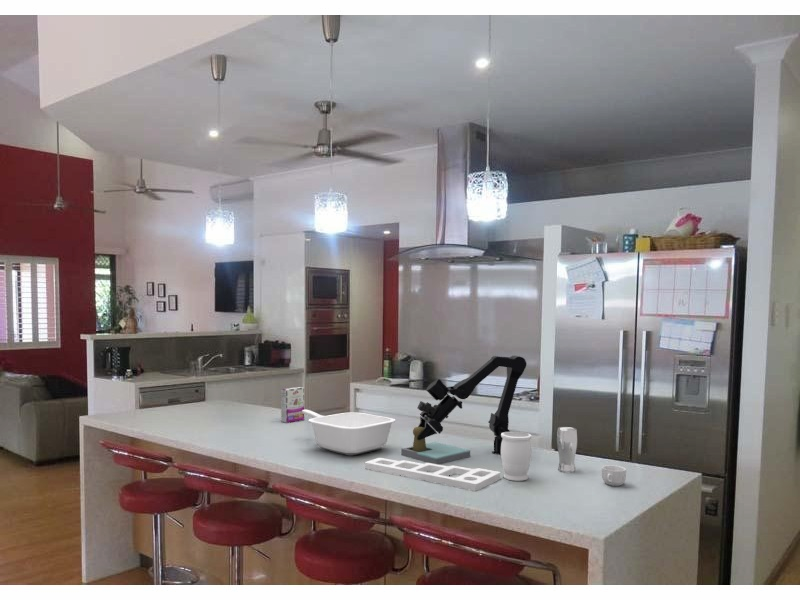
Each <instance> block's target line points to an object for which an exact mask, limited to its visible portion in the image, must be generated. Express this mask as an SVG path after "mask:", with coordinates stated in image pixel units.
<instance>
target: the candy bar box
mask: <svg viewBox="0 0 800 600" xmlns="http://www.w3.org/2000/svg"><path fill="white" fill-rule="evenodd" d="M280 394H281V395H280V396H281V397H280V400H281V401H280V403H281V404H280V406H281V407H280V413H281V415H280V416H281V417H280V419H281V420H280V421H281V423H284V424H285V423H286V424H289V422H290V423H295V422H294V421H296V422H300V421H299V420H302V421H304V420H305V414H303V413H302V410H305V387H301V386H296V387H287V388H282V389H280Z"/></svg>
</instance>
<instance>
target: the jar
mask: <svg viewBox="0 0 800 600" xmlns="http://www.w3.org/2000/svg"><path fill="white" fill-rule="evenodd" d="M501 437H502V438H503V439H502V443H501V455H500V457H501V465H502V470H503V472H504V473H503V475H502V476H503V478H504V479H505V480H508V481H511V482H512V481H513V482H523V481H527V480H528V479H529V476H528V472H529V469H530V466H531V460H532V443H531V439H532V434H530V433H528V432H522V431H510V432H503V433H501Z"/></svg>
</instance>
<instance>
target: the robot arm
mask: <svg viewBox="0 0 800 600" xmlns="http://www.w3.org/2000/svg"><path fill="white" fill-rule="evenodd" d="M499 367H502V368H503V367H505V368H506V379H505V383H504V385H503V386H504V387H503V389H502V393H501V397H500V399H499V404H498V407H497V410H496V411H495V413H492V412H491V413H490V417H489V420H488V421H487V422H488V426H489V430H490V431H492V433H493V435H494V440H493V450H492V451H491V454H495V453H496V454H495V455H499V454H500V456H501V443H502V439H503V438H502V437H501V433H503V432H511V431H510V429H509V424H510V423H509V412H510V409H511V406H512V403H513V398H514V395H515V392H516V389H517V386H518V385H517V384H518V381H519V379H520V378H521V377H522V375H523V374H524V372H525V370H526V367H527V361H526V359H525V357H523V356H520V355H512V356H509V357H508V356H498V355H493V356H492V357H490V359H488V361H487V362H485V363H484V364H483V365H482V366H480V367H479V368H478V369H477V370H476V371H475V372H473V373H472V374H471V375H470V376H468V377H467V378H464V379H462V380H460V381H458V382H457V383H456V384H454V385H452V386H446V385H445V384H444V383H443V382H442V379H440V378H437V379H436V380H434V381H432V382H431V383H430V384H428V386H427V387H426V392H427V393H428V394H429V395H430V396H431V397H432V398H433V399H434V400H435V401H439V403H437V404H434V405H432V403H429V402H424V401H421V400H420V401H419V404H418V405H417V409H418V411H421V413H419V414H420V417H419V420H420V422H419V424H418V426H417V427H424V429H423V430H422V432H421V433H420V434H419V436H418V437H417V439H418V440H421V439H423V438H425V439H426V438H428V437H431V436H435V435H438V434H441V433H442V432H443V431H444V426H442V422H443V421H444V420H445V419H448V418H449V415H450V414H451V412H453V411H454V409H456V407H457V408H459V409H463V401H462V400H466V399H467V398H469V397H470V395H471V394H473V392H474V390H475V388H476V387H477V386H478V385H479V384H480V383H481V382H482V381H484V380H485V379H486V378H487V377H489V375H490V374H492V373H493V372H494V371H495V370H496V369H498V368H499ZM451 395H452V396H451ZM457 398H458V399H459V400H458V399H457Z"/></svg>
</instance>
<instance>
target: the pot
mask: <svg viewBox="0 0 800 600" xmlns="http://www.w3.org/2000/svg"><path fill="white" fill-rule="evenodd" d="M302 413H303V414H304V415H306V416H308V417H311V418H309V419H308V421H307V422H308V423H311V424H312V428H313V433H314V437H315V442H316V443H317V445H318V446H319V447H320V448H321V449H323V450H326V451H330V452H334V453H336V454H340V455H341V454H342V455H345V456H356V455H362V454H365V453H369V452H375V451H377V450H379V449H382V448H383V447H384V446H385V445H386V444H387V442H388V439H389V434H390V431H391V427H392V424H394V423H395V422H396V419H395V418H393V417H387V416H381V415H376V414H370V413H364V412H352V411H349V412H348V411H347V412H342V413H334V414H329V415H322V414H319V413H317V412H315V411H313V410H310V409H304V410H302Z"/></svg>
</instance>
